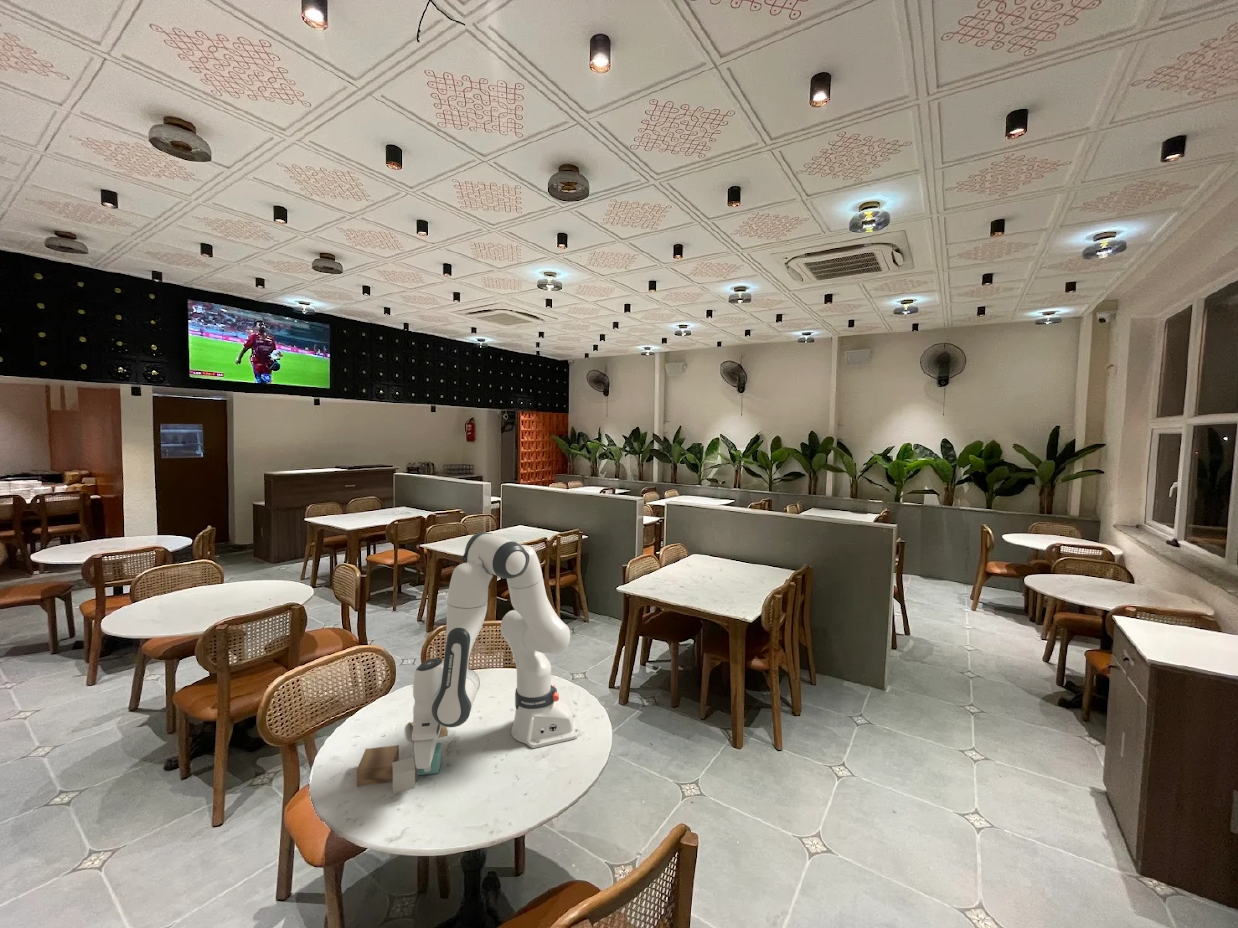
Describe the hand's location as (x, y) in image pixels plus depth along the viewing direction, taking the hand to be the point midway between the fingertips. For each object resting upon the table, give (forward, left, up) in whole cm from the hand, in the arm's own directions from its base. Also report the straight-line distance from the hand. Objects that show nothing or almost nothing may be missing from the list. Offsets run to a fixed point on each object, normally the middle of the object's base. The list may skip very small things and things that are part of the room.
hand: (430, 761), depth 141 cm
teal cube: (0, 0, -2) cm, 2 cm away
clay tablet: (+4, -19, -3) cm, 20 cm away
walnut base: (+14, 0, -2) cm, 14 cm away
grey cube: (+6, +6, -2) cm, 8 cm away
